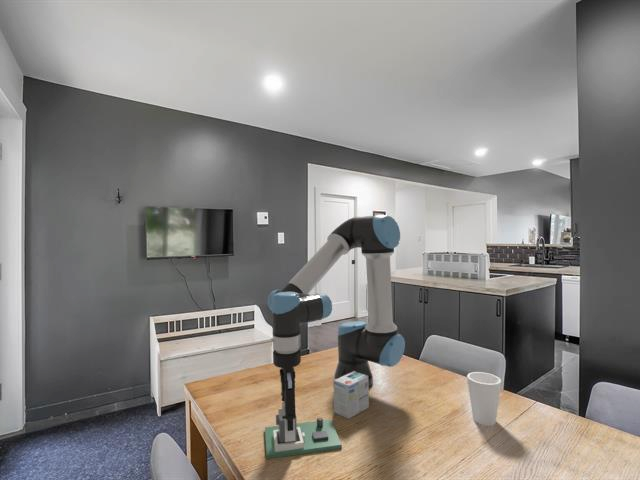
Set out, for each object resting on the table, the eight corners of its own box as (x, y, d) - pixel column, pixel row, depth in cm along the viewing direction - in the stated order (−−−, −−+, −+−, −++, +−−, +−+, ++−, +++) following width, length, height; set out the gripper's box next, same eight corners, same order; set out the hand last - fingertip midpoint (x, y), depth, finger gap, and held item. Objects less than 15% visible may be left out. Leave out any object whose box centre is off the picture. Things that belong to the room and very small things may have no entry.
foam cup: (498, 415, 106) (498, 374, 106) (504, 430, 98) (503, 386, 98) (466, 410, 110) (465, 370, 110) (468, 425, 101) (468, 382, 101)
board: (330, 422, 103) (330, 412, 103) (341, 448, 91) (341, 437, 91) (264, 430, 99) (264, 420, 99) (266, 458, 87) (266, 447, 87)
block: (294, 435, 95) (294, 407, 95) (296, 445, 91) (296, 415, 90) (275, 438, 94) (275, 409, 94) (277, 448, 89) (276, 418, 89)
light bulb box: (354, 400, 117) (353, 370, 117) (369, 407, 112) (369, 375, 112) (333, 412, 110) (332, 379, 110) (348, 420, 105) (348, 385, 105)
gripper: (271, 339, 101) (272, 415, 101) (275, 363, 82) (277, 457, 82) (295, 337, 103) (297, 412, 103) (305, 361, 83) (307, 453, 84)
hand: (288, 432), depth 92 cm, fingers open, 7 cm apart
